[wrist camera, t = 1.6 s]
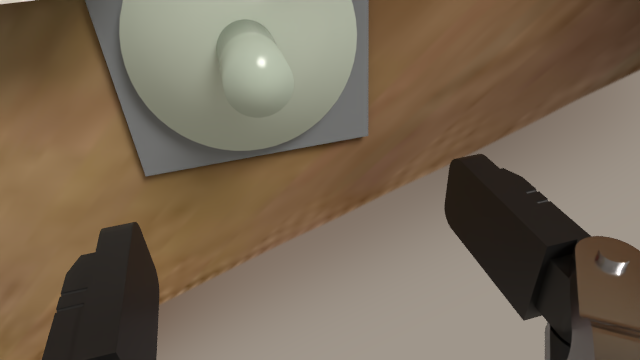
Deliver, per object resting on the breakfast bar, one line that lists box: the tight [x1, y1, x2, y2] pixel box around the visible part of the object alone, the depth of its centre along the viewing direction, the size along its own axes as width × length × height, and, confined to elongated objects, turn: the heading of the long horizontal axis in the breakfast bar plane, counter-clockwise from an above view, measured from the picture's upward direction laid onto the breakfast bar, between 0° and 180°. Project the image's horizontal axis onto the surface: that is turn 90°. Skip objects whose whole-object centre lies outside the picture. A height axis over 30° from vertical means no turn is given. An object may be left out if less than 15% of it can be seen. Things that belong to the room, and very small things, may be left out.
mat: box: [85, 0, 368, 176], centre depth 24 cm, size 14×14×1 cm
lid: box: [119, 0, 357, 151], centre depth 21 cm, size 12×12×6 cm
